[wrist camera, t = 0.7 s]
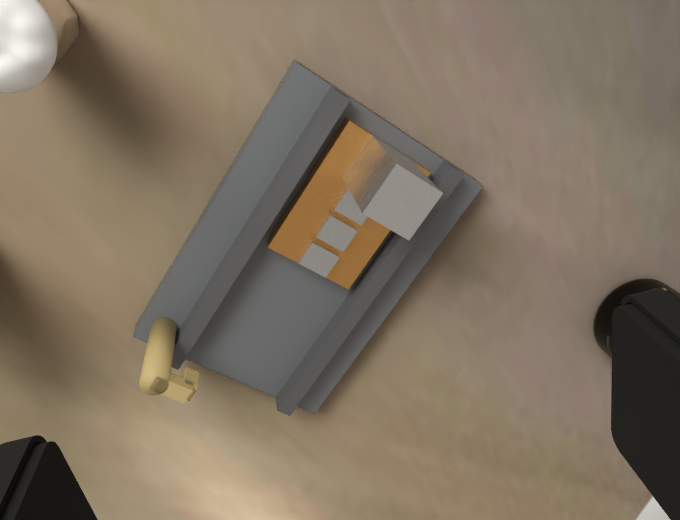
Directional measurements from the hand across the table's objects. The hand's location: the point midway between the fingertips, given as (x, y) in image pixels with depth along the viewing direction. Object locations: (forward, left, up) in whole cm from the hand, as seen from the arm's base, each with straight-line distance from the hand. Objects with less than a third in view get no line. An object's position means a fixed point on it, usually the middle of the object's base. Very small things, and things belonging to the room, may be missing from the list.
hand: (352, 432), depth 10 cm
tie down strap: (-2, -7, -27) cm, 29 cm away
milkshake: (-2, +12, -29) cm, 31 cm away
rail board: (-7, -7, -29) cm, 31 cm away
